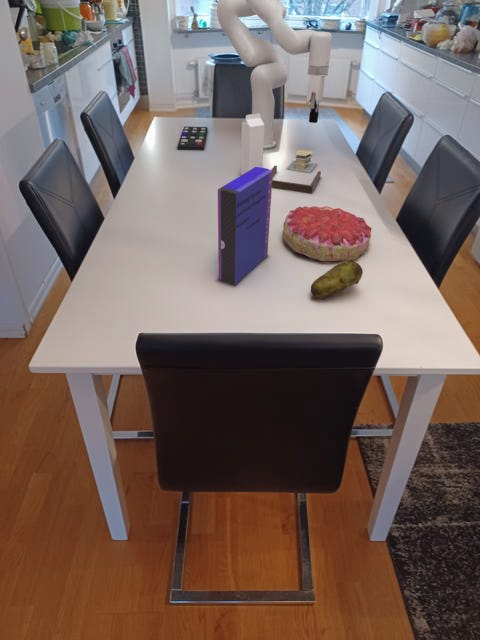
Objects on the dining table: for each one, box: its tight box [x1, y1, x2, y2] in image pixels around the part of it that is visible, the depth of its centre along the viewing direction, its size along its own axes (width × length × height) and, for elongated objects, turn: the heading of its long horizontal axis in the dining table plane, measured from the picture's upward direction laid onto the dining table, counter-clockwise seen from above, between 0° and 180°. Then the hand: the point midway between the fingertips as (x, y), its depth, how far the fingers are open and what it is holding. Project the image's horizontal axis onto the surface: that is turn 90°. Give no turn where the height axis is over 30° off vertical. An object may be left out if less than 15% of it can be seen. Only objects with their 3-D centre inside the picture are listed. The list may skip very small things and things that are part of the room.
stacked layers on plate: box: [287, 149, 317, 173], centre depth 183 cm, size 10×9×6 cm
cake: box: [281, 205, 373, 262], centre depth 132 cm, size 25×25×8 cm
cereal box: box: [217, 167, 274, 286], centre depth 115 cm, size 17×5×24 cm, turn 150°
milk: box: [240, 113, 264, 176], centre depth 168 cm, size 6×6×22 cm
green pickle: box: [310, 260, 364, 299], centre depth 111 cm, size 8×13×8 cm, turn 96°
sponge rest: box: [270, 165, 322, 194], centre depth 170 cm, size 16×18×2 cm
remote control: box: [177, 126, 209, 151], centre depth 210 cm, size 11×30×2 cm, turn 0°
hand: (313, 122), depth 184 cm, fingers closed
